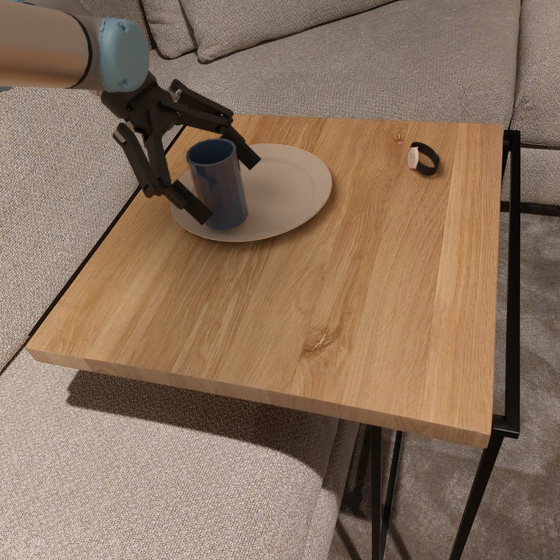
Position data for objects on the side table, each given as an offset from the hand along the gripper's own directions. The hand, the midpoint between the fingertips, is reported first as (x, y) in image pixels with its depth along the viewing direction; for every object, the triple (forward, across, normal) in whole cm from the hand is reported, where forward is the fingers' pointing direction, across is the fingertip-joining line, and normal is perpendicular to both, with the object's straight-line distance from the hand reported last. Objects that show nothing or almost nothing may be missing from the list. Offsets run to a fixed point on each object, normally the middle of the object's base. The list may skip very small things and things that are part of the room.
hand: (233, 191), depth 82 cm
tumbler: (+2, 0, +5) cm, 6 cm away
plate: (+4, +8, +7) cm, 11 cm away
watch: (+20, +24, -9) cm, 32 cm away
